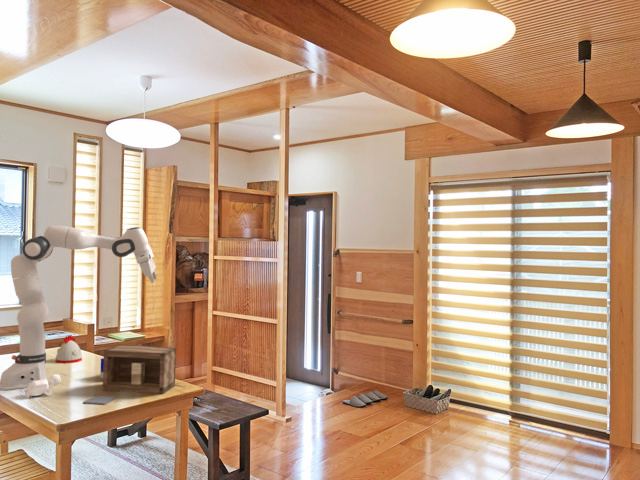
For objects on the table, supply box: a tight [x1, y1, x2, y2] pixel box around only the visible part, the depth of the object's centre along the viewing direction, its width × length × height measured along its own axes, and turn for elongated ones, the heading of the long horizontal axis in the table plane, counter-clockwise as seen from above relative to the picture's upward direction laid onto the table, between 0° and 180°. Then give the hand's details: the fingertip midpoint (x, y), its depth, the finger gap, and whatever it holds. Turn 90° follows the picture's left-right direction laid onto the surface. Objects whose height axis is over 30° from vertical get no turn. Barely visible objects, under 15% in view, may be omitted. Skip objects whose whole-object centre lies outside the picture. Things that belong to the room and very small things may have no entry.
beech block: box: [131, 361, 145, 384], centre depth 248 cm, size 4×4×10 cm
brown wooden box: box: [102, 344, 177, 395], centre depth 250 cm, size 14×30×19 cm, turn 84°
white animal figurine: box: [23, 373, 62, 399], centre depth 236 cm, size 9×8×15 cm
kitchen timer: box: [55, 334, 83, 364], centre depth 303 cm, size 14×14×15 cm
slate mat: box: [82, 395, 117, 406], centre depth 229 cm, size 10×10×1 cm
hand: (154, 280), depth 272 cm, fingers open, 8 cm apart
